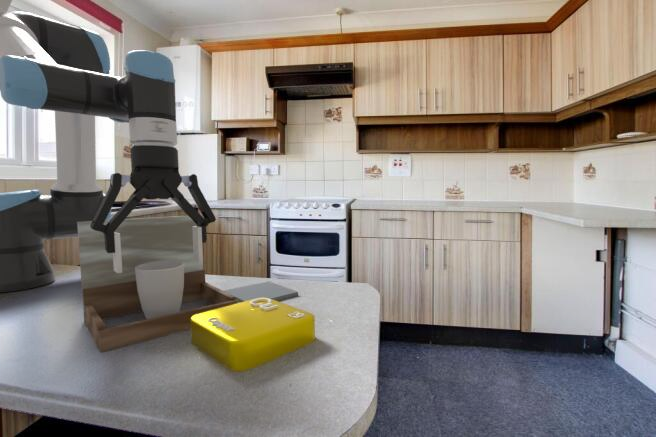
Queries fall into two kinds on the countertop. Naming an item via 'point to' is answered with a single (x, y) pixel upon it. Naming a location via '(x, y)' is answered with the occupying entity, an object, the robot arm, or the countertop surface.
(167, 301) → the cup
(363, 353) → the countertop surface
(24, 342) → the countertop surface
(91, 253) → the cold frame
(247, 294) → the slate mat
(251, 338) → the element tile
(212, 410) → the countertop surface
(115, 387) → the countertop surface
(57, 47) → the robot arm
